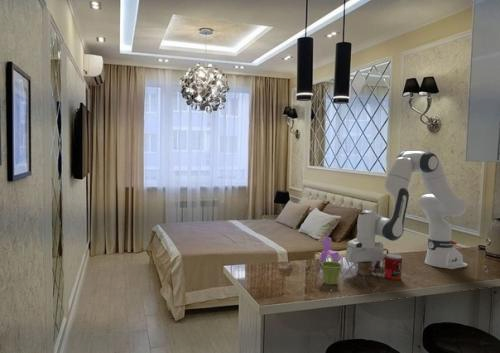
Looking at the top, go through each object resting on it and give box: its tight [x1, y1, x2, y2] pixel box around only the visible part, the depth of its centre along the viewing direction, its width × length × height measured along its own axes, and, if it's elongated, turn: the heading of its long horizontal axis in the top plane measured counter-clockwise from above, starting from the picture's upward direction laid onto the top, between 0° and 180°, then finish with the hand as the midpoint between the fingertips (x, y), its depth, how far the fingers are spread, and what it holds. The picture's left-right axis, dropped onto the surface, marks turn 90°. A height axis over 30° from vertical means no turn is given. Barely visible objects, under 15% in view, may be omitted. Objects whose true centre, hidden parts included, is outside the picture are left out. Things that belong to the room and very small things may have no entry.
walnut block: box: [356, 261, 373, 276], centre depth 196 cm, size 5×5×6 cm
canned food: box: [384, 253, 403, 281], centre depth 190 cm, size 8×8×11 cm
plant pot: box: [320, 261, 343, 285], centre depth 180 cm, size 9×9×9 cm
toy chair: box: [318, 236, 340, 265], centre depth 210 cm, size 8×9×15 cm
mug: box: [368, 248, 390, 268], centre depth 211 cm, size 12×9×10 cm
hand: (364, 269), depth 196 cm, fingers open, 7 cm apart
